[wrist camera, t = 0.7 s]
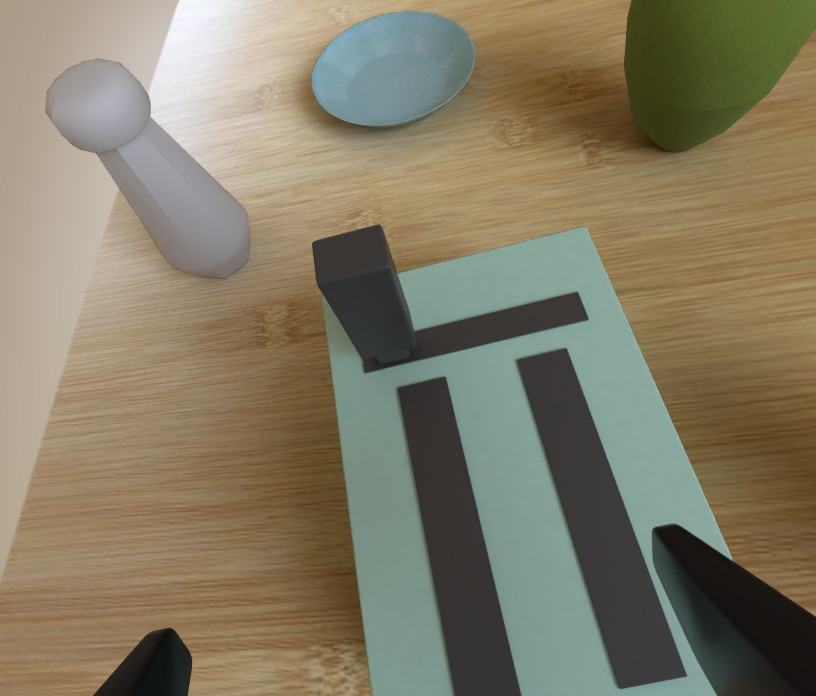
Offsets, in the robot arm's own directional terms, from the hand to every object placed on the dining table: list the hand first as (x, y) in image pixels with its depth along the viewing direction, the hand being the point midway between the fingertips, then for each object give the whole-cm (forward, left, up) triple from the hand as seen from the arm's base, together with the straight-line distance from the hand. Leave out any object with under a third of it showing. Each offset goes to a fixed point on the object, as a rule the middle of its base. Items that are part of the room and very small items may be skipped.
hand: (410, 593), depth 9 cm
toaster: (+4, -3, -15) cm, 16 cm away
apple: (+23, -19, -16) cm, 33 cm away
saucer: (+34, -3, -16) cm, 37 cm away
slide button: (+8, 0, -7) cm, 11 cm away
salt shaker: (+23, +11, -15) cm, 30 cm away
